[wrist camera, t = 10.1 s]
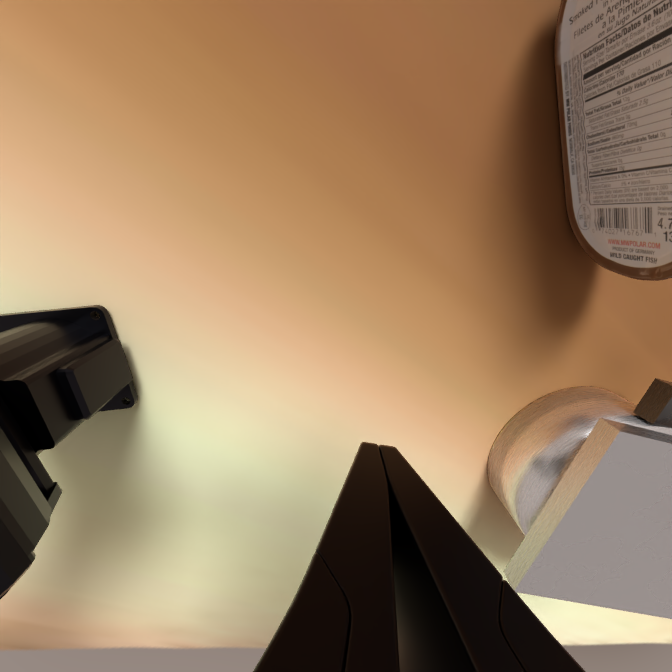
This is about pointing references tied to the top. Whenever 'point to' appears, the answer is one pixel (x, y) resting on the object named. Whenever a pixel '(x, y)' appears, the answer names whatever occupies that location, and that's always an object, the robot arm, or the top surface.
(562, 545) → the lid
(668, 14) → the tin
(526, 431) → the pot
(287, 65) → the top surface
